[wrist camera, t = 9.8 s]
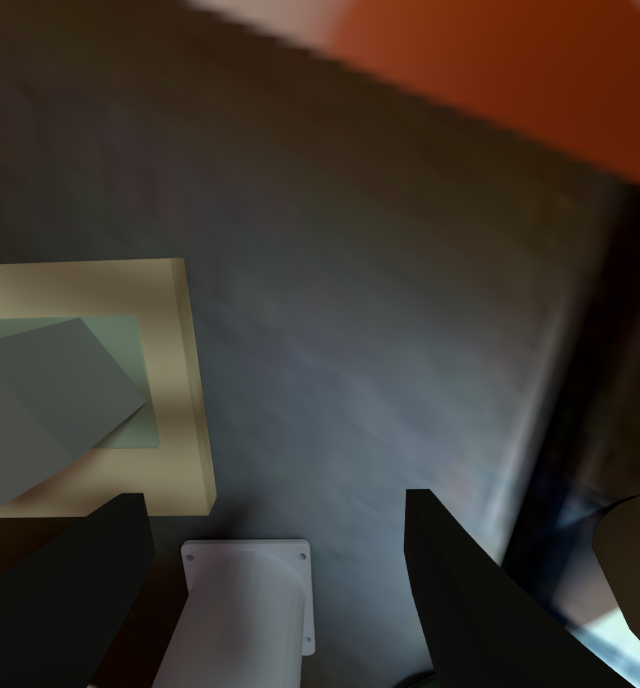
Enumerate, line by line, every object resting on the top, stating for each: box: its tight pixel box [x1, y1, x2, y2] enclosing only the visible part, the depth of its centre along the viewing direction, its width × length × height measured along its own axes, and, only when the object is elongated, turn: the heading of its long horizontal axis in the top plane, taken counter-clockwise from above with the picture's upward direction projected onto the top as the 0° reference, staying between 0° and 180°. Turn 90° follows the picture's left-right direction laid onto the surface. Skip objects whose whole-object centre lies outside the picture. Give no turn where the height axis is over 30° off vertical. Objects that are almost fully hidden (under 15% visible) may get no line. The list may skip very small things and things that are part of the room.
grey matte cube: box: [0, 317, 148, 507], centre depth 14 cm, size 5×5×5 cm
